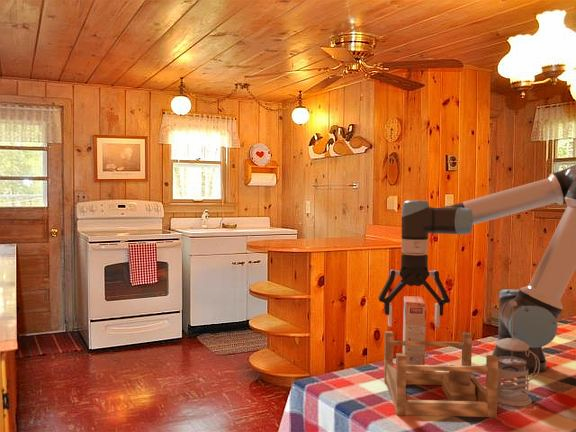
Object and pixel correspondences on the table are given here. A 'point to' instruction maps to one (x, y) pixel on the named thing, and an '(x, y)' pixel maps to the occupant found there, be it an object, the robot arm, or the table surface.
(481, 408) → the rack
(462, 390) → the offcut
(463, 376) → the offcut
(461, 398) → the offcut
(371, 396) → the table surface
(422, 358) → the cracker box
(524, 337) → the robot arm
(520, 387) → the french press
